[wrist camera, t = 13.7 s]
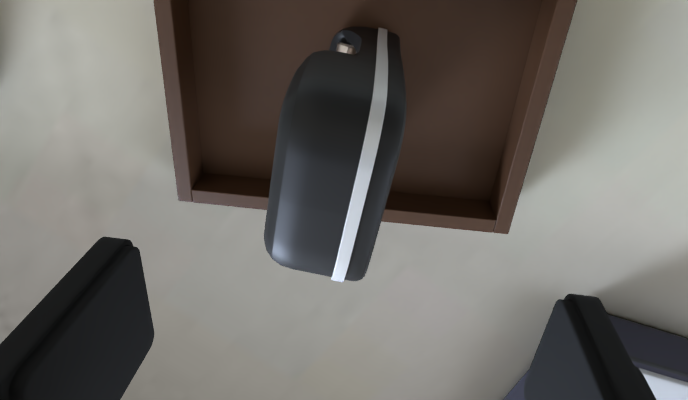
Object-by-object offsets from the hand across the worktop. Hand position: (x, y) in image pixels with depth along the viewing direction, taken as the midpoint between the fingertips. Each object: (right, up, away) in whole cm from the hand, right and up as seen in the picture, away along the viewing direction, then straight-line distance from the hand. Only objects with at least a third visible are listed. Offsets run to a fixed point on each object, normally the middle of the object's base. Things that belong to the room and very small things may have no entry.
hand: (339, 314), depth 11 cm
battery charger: (0, +8, +13) cm, 16 cm away
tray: (+1, +8, +14) cm, 16 cm away
